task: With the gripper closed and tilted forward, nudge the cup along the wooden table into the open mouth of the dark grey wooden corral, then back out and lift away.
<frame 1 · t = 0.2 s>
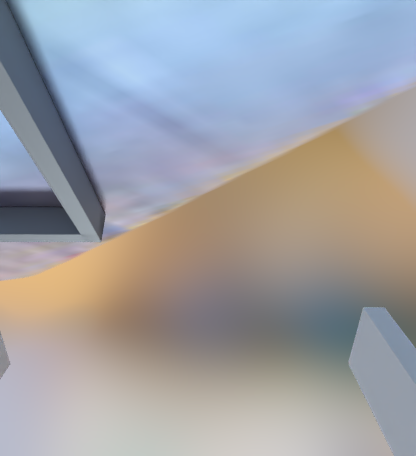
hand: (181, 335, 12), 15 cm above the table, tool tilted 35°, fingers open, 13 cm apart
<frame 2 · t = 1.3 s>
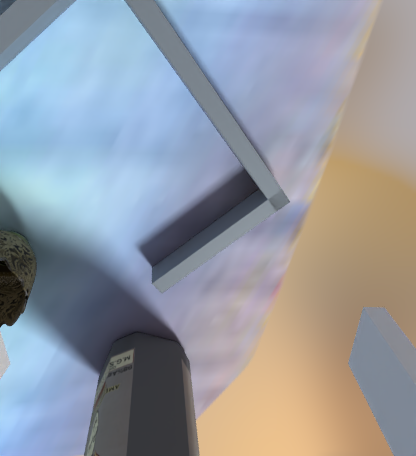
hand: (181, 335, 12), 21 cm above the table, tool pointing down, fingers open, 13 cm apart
cup: (13, 244, 33), on the table
corral: (132, 146, 30), on the table
liquor: (144, 361, 41), on the table
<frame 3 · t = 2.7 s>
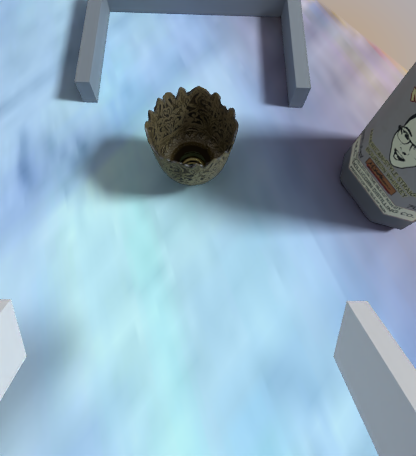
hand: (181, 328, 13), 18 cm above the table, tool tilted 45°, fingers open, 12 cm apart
cup: (192, 172, 35), on the table
corral: (195, 56, 40), on the table
liquor: (386, 184, 35), on the table
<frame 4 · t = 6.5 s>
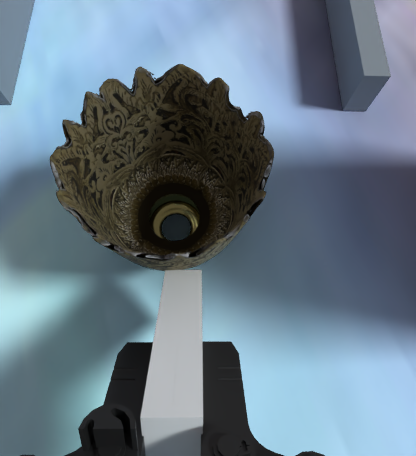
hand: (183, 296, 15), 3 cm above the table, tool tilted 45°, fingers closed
cup: (176, 229, 19), on the table, touching gripper
corral: (181, 27, 24), on the table
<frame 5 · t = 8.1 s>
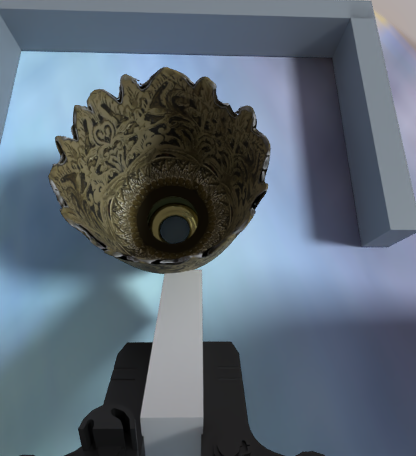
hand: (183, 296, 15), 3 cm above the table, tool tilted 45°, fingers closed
cup: (174, 231, 19), on the table, touching gripper
corral: (176, 139, 21), on the table
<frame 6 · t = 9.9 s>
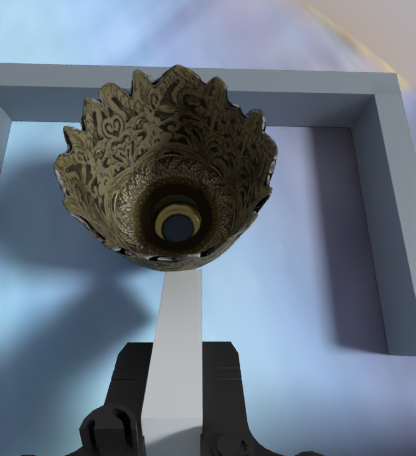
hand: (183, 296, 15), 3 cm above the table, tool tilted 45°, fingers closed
cup: (177, 229, 19), on the table, touching gripper
corral: (182, 226, 19), on the table
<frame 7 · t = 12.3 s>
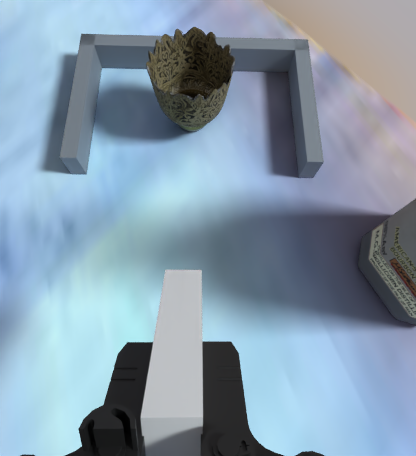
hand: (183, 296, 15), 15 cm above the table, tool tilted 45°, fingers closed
cup: (192, 121, 36), on the table
corral: (194, 119, 36), on the table
liquor: (409, 269, 31), on the table
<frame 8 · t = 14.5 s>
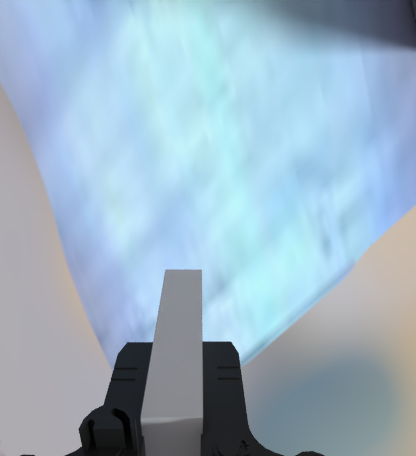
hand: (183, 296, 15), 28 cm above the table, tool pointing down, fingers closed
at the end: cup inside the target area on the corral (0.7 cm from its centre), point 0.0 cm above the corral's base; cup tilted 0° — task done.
